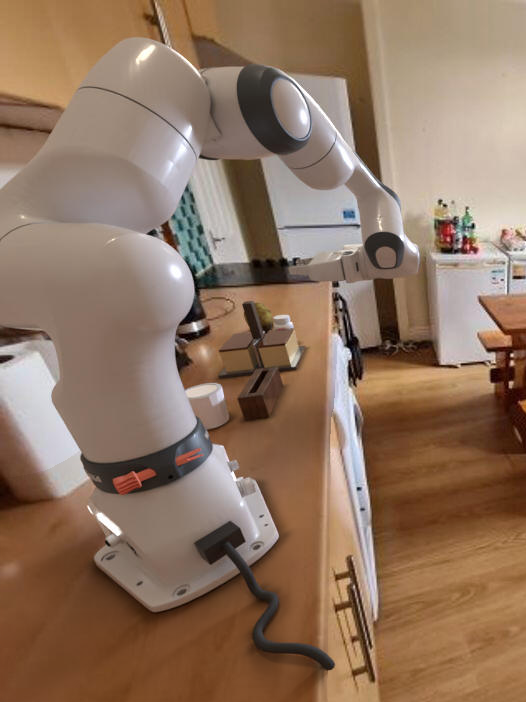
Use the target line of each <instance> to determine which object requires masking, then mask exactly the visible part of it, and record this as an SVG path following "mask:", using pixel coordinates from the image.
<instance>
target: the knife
mask: <svg viewBox="0 0 526 702" xmlns="http://www.w3.org/2000/svg"><path fill="white" fill-rule="evenodd" d="M254 303H255V301H254V300H249V301H246V300H245V301H243V303H242V304H241V306H242V309H243V313H244V312H245V315H246V318H247V322H248V324H247V326H248V325H249V326H248V328H249V330H250V331H249V332H251V334H252V337H253V339H256V340H255V341H254V343H253V344H252V345H253V349H254V352H255V355H256V358H257V361H258V364H259V367H262V365H263V361H262V358H261V355H260V352H259V348H258V345H259V344H260V342H261V341H262V340H263V338H264V337H265V336H266V334H267V333H265V331H263V330H262V327H261V324H260V320H259V317H258V314H257V310H256V307H255V304H254ZM247 322H246V323H247Z"/></svg>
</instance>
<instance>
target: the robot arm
mask: <svg viewBox="0 0 526 702" xmlns="http://www.w3.org/2000/svg"><path fill="white" fill-rule="evenodd" d="M275 156H277V157H278V158H279V159H280V161H282V163H284V165H285V166H286V167H287V168H288V170H289V171H291V173H292V174H294V176H295V177H296V178H297V179H298V180H299V181H301V182H302V183H304V184H305V186H307V187H309V188H311V189H312V190H317V191H332V190H335V189H337V188H340V187H342V186H344V185H345V187H346V188H347V189H348V190H349V191H350V192H351V193H352V194H353V195H354V197H355V199H356V203H357V209H358V213H359V221H360V222H359V223H360V232H361V241H362V242H361V243H355V244H354V243H353V244H351V243H350V244H343V245H342V249H341V250H336V251H335V250H334V251H320V252H317V253H316V254H315V256H311V257H306V258H297V259H296V260H295V265H290V266H289V267H288V269H287V270H288V273H289V275H291V276H297V275H299V276H308V278H309V280H310V281H313V282H345V283H346V284H355V283H357V282H365V281H366V282H367V281H372V280H376V279H384V280H392V279H393V280H394V279H401V278H407V277H412V276H414V275H416V274H418V272H419V270H420V267H421V252H420V248H419V246H418V245H417V244H416V243H413V242H412V241H411V240H410V239H409V238H408V236H407V234H406V232H405V231H404V230H405V229H404V224H403V223H404V222H403V217H402V202H401V199H400V197H399V195H398V194H397V193H396V192H395V191H394V189H391V188H390V187H389V186H387V185H385V183H382V182H381V181H380V180H379V179H378V178H377V177H376V176H375V175H374V173H373V172H372V170H370V169H369V168H368V166H367V164H366V163H365V162H364V161H363V160H362V158H360V156H359V155H358V153H356V151H355V150H354V149H353V148H352V147H351V146H350V144H349V143H347V142H346V141H345V139H344V138H343V136H342V134H341V133H340V132H339V131H338V128H336V126H335V125H334V124H333V122H332V121H331V119H330V118H329V117H328V115H327V113H325V111H324V110H323V109H322V108H321V107H320V105H319V104H318V103H317V102H316V101H315V100H314V98H313V97H312V96H311V95H310V94H309V93H308V92H307V91H306V90H305V89H304V88H303V87H302V86H301V85H300V84H299V83H298V82H297V81H296V80H295V79H294V78H293V77H291V76H289V75H288V74H287V73H285V72H284V71H283V70H281V69H279V68H278V67H274V66H270V65H267V64H259V63H257V64H256V63H250V64H249V63H248V64H246V65H245V66H219V67H217V66H211V67H205V68H200V69H197V68H196V67H195V66H194V65H193V64H192V63H191V62H190V61H189V60H188V59H187V58H186V57H184V56H183V55H182V54H180V53H179V52H177V51H176V50H174V49H173V48H172V47H170V46H168V45H167V44H165V43H162V42H160V41H157V40H155V39H152V38H148V37H143V36H132V37H128V38H127V37H126V38H124V39H122V40H121V41H119V42H117V43H116V44H115V45H114V46H113V47H111V48H110V49H108V51H107V52H106V53H105V54H104V55H102V56H101V57H100V58H99V59H98V60H97V62H95V64H93V66H92V67H91V69H90V70H89V71H88V73H86V75H85V76H84V78H83V79H82V81H81V82H80V83H79V86H77V89H76V90H75V92H74V93H73V95H72V97H71V99H70V100H69V102H68V104H67V106H66V107H65V109H64V110H63V112H62V114H61V115H60V117H59V119H58V120H57V122H56V124H55V126H54V127H53V128H52V131H51V132H50V134H49V135H48V137H47V139H46V140H45V142H44V143H43V145H42V147H41V148H40V149H39V150H38V151H37V153H36V154H35V155H34V156H33V157H32V158H31V160H29V161H28V162H27V164H26V165H24V166H23V168H21V169H20V170H19V171H18V172H17V173H16V174H15V175H13V177H12V178H11V179H9V180H8V181H7V182H6V183H5V184H4V185H3V186H2V187H0V326H1V327H5V328H10V329H19V330H28V331H29V330H30V331H43V332H45V333H46V334H47V336H48V337H49V338H50V339H51V342H52V343H53V346H54V350H55V353H56V357H57V363H58V368H59V369H58V371H59V380H58V381H57V382H56V383H55V385H54V386H53V388H52V390H51V395H50V398H51V403H52V405H53V407H54V409H55V410H56V412H57V414H58V415H59V416H60V418H61V420H62V422H63V424H64V425H65V428H67V430H68V432H69V433H70V435H71V437H72V438H73V440H74V442H75V444H76V445H77V447H78V449H79V450H80V452H81V453H80V455H79V456H80V458H79V459H80V462H81V464H82V468H83V470H84V473H85V474H86V475H87V476H88V477H89V479H90V480H91V482H92V484H93V485H94V486H95V488H94V490H93V492H92V493H91V495H90V496H89V497H88V500H87V501H86V505H87V508H88V510H89V512H90V513H91V514H92V515H93V517H94V519H95V520H96V522H97V524H98V525H99V527H100V529H101V530H102V531H103V533H104V535H105V538H104V543H105V545H104V546H103V547H101V548H100V549H99V550H98V551H96V553H95V554H94V556H93V561H94V563H95V565H96V567H98V568H99V569H100V570H101V571H102V572H103V573H105V574H106V575H107V576H108V577H109V578H111V579H112V580H113V581H114V582H115V583H116V584H117V585H118V586H120V587H121V588H122V589H123V590H125V592H127V593H128V594H129V595H130V596H131V597H133V598H134V599H135V600H136V601H137V602H139V603H140V605H142V606H144V608H146V609H147V610H149V611H150V612H151V613H159V612H163V611H167V610H170V609H173V608H176V607H179V606H182V605H184V604H186V603H189V602H191V601H193V600H196V599H197V598H199V597H201V596H203V595H205V594H207V593H209V592H211V591H212V590H214V589H216V588H218V587H219V586H221V585H223V584H224V583H227V582H228V581H229V580H231V579H232V578H234V577H236V576H237V575H238V574H240V575H241V576H242V578H243V580H244V582H245V584H246V586H247V588H248V590H249V592H250V593H251V595H252V596H253V597H255V598H256V599H259V600H261V601H267V602H268V606H267V607H266V609H265V610H264V612H263V613H262V614H261V615H260V617H259V618H258V619H257V621H256V623H255V624H254V626H253V629H252V631H251V632H252V633H251V638H252V641H253V643H254V645H255V646H256V647H257V649H259V650H261V651H262V652H264V653H269V654H277V655H278V654H284V655H286V654H289V655H299V656H300V655H301V656H304V657H308V658H310V659H312V660H313V661H315V662H317V663H318V664H319V665H320V666H321V667H322V668H323V669H324V670H326V671H332V670H333V669H334V668H335V666H336V663H335V661H334V660H333V658H332V657H331V656H330V655H328V654H327V653H326V652H325V651H324V650H322V649H320V648H318V647H316V646H314V645H312V644H307V643H301V642H278V641H277V642H276V641H272V640H269V639H267V638H265V636H264V633H263V630H264V628H265V626H266V625H267V624H268V622H269V621H270V619H271V618H272V617H273V615H274V614H275V612H276V611H277V608H278V606H279V602H280V601H279V596H278V595H277V593H275V592H273V591H269V590H264V589H263V588H262V587H261V586H260V585H259V584H258V582H257V580H256V578H255V575H254V573H253V571H252V569H251V568H250V566H252V565H253V564H254V563H255V562H257V561H258V560H260V559H261V558H262V557H263V556H264V555H266V553H268V551H270V550H271V548H272V547H273V546H274V545H275V544H276V543H277V541H278V540H279V538H280V535H279V532H278V529H277V527H276V524H275V521H274V519H273V517H272V515H271V512H270V510H269V508H268V505H267V503H266V501H265V499H264V496H263V494H262V492H261V489H260V486H259V485H258V483H257V481H256V480H255V478H254V479H253V478H251V476H248V477H247V476H246V477H244V476H239V477H237V476H236V474H235V472H234V471H237V470H239V469H240V465H239V462H238V461H237V459H233V460H231V461H230V460H229V457H228V455H227V454H228V453H227V451H226V449H225V446H224V445H223V444H222V445H221V444H219V443H218V444H217V443H213V442H212V440H211V438H210V435H209V432H208V429H206V427H205V426H204V425H203V424H202V422H201V420H200V418H199V417H197V416H195V415H194V412H193V410H192V407H191V405H190V402H189V400H188V397H187V395H186V392H185V390H186V389H185V386H184V384H183V382H182V379H181V377H180V373H179V370H178V365H177V360H176V336H177V335H176V334H177V330H178V327H179V325H180V323H182V322H183V320H184V319H185V318H186V317H187V315H188V314H189V312H190V311H191V309H192V306H193V303H194V299H195V282H194V277H193V274H192V271H191V269H190V268H189V265H188V264H187V262H186V260H185V259H184V257H182V255H181V253H179V252H178V251H177V250H176V249H175V248H174V247H173V246H172V245H170V244H169V243H167V242H165V241H164V240H162V239H160V238H158V237H155V236H153V235H151V234H150V235H149V234H148V233H150V232H151V231H153V230H154V229H156V228H159V227H160V226H162V225H164V224H165V223H167V222H168V221H169V220H170V219H171V218H172V217H173V215H174V214H175V212H176V211H177V208H178V205H179V203H180V201H181V199H182V196H183V195H184V192H185V189H186V188H187V185H188V183H189V181H190V179H191V176H192V175H193V171H194V170H195V167H196V165H197V162H198V160H199V159H201V160H204V161H205V160H206V161H218V160H243V161H251V160H252V161H253V160H260V159H266V158H271V157H275Z"/></svg>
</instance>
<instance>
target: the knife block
mask: <svg viewBox="0 0 526 702" xmlns="http://www.w3.org/2000/svg"><path fill="white" fill-rule="evenodd" d="M280 373H281V372H280V371H279V370H278V367H271V368H263V369H256V370H255V372H254V373H253V375H250V377H249V379H248V380H247V382H246V384H245V386H244V387H243V389H242V390H241V391H240V393H239V395H238V396H237V398H236V399H237V403H238V405H239V407H240V410H241V413H242V416H243V418H244V421H251V420H256V419H265V418H269V417H270V416H271V415H272V412H273V411H274V409H275V405H276V403H277V402H278V399H279V397H280V396H281V393H282V390H283V388H284V384H283V381H282V377H281V374H280Z"/></svg>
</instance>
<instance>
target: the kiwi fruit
mask: <svg viewBox="0 0 526 702" xmlns="http://www.w3.org/2000/svg"><path fill="white" fill-rule="evenodd" d="M254 304H255V307H256V310H257V314H258V317H259V320H260V324H261V327H262V330H263V331H265V334H267V333H268V331H269V330H274V325H275V323H274V319H273V315H272V312H271V310H270V309H269V308H268V307H267V306H266V305H265V304H264V303H262V302H261V303H260V302H256V301H255V302H254ZM243 318H244V320H245V322H246V324H247V326H248V327H249V325H248V322H247V318H246V315H245V312H244V311H243Z"/></svg>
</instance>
